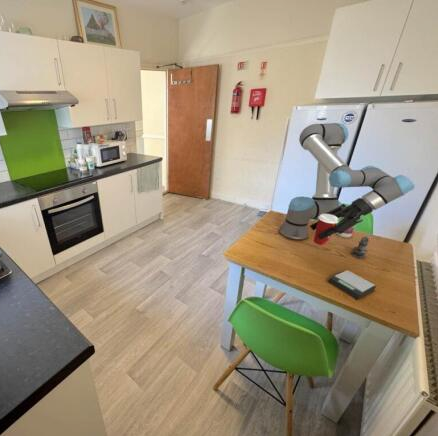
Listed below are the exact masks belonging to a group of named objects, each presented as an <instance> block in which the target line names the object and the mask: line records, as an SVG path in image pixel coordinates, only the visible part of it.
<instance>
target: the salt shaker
mask: <svg viewBox="0 0 438 436" xmlns="http://www.w3.org/2000/svg"><path fill="white" fill-rule="evenodd" d="M369 241H370V239H369V237H368V236H367V235H366V236H362V237H361V239H360V241H359V242H358V245H357V246H353V252H351V255H352V256H353V257H355V258H357V259H364V258H365V255H366V254H368V250H367V249H366V248H367V246H369V245H368V243H369Z"/></svg>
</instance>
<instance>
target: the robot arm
mask: <svg viewBox="0 0 438 436" xmlns="http://www.w3.org/2000/svg"><path fill="white" fill-rule="evenodd" d="M348 138H349V129H348V127H347V126H346V125H345V124H344V123H340V122H339V123H338V122H327V123H326V122H325V123H312V124H309V125H308V126H306V127H304V129H302V130H301V132H300V134H299V138H298V141H299V144H300V146H301V148H303V150H304V151H308V152H309V153H310V154H311V155H312V157H313V159H315V160H316V161H317V168H316V170H317V171H316V182H315V184H316V185H315V193H314V194H313V195H312V196H311V197H309V196H306V197H305V196H296V197H293V198H292V199H291V200H290V202H289V204H288V208H287V212H286V217H285V220H284V221H283V223H282V224H281V225H280V227H279V229H278V233H279V234H280V235H281V236H282V237H284V238H286V239H288V240H292V241H305V240H307V239H308V236H309V232H308V223H309V221H315V220H317V221H316V222H314V223H312V224H311V225H309V227H310V228H311V230H312V231H316V227H317V223H318V220H319V218H318V217H319V216H320V215H321V214H331V215H334V216H336V217H337V218H338V219H339V218H340V220H341V217H344V218H343V219H342V220H341V221H338V223H337V224H336V226H335V227H332V228H333V229H332V228H329V229H327V230H325V231H324V232H322V233H320V234H318V235H317V236H318V237H319V238H320V239H323V238H325V237H327V236H330V235H331V236H332V235H334V234H336V233H339V234H342V233H343V232H345V231H346V230H348V229H349V228H351V227H353V226H354V225H356V226H357V225H358V224H359V223H360V224H361V223H362V222H363V221H364V220H363V219H362V216H367V215H369V214H371V213H373V212H374V211H376V210H378V209H380V208H382V207H384V206H386V205H387V204H389V203H391V202H392V201H395V200H397V199H399V198H401V197H404V196H405V195H406V194H408V193H409V192H411V191H413V190H414V189H415V184H414V182H413V180H411V179H410V178H409V177H408V176H406V175H404V174H398V175H396V176H395V177H394V176H392V175H390V174H388V173H386V172H385V171H384V170H382V169H381V168H379V167H376V166H374V165H367V166H363V167H362V168H361V169H352V168H351V167H350V166H349V165H348V164H347V163H345V161H344V160H343V159H342V158H341V157H340V156H339V155H338V152H339V150H340V149H342V145H343V144H345V143H346V142H347V140H348ZM356 187H357V188H364V187H365V188H366V187H369V188H371V189H372V190H371V191H369V192H367V193H365V194H363V195H362V196H361V197H358V198H356V199H355V200H352V201H351V204H352V205H350V204H349V205H345V203H341V201H340V200H338V196H337V195H335V188H341V189H342V188H356ZM331 236H330V237H331Z"/></svg>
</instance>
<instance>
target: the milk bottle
mask: <svg viewBox="0 0 438 436" xmlns="http://www.w3.org/2000/svg"><path fill="white" fill-rule="evenodd" d="M350 205H352V203H350V204H349V206H350ZM343 218H344V217H340V221H341V220H342V219H343ZM340 221H339V222H340ZM356 227H357V224H356V225H354V226H353V227H351V228H349V229H348V230H346V231H345V232H343V233H342V234H339V233H335V234H336V235H337V236H339V237H341V238H345V239H346V238H347V239H349V238H351V237H352V235H353V233H354V231H355V229H356Z"/></svg>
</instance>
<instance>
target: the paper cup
mask: <svg viewBox="0 0 438 436" xmlns="http://www.w3.org/2000/svg"><path fill="white" fill-rule="evenodd" d="M318 218H319V220H317V221H318V223H317V227H316V229H315V230H314V235H313V239H312V242H313V243H314V244H316V245H318V246H326V245H327V244H328V243H329V240H330V239H331V236H332V235H330V236H327V237H325V238H323V239H320V238H319V237H318V236H317V235H318V234H320V233H322V232H324V231H325V230H327V229H329V228H332V227H335V226H336V225H337V224H338V223H339V218H337V217H336V216H334V215H331V214H321V215H320V216H319V217H318ZM332 229H333V228H332Z"/></svg>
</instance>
